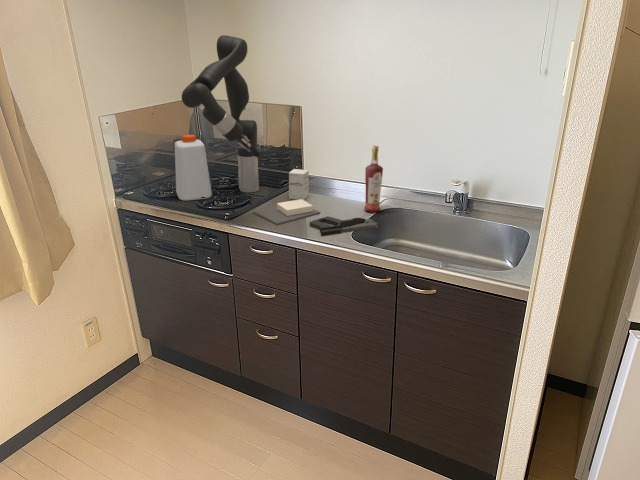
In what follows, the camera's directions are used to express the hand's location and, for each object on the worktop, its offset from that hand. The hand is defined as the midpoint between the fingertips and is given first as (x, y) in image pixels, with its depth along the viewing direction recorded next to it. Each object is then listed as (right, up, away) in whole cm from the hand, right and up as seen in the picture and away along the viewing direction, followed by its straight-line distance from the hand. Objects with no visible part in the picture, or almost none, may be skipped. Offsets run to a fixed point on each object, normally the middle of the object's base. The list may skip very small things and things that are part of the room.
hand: (257, 155), depth 201 cm
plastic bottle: (-34, -13, +34) cm, 50 cm away
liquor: (+47, -21, +17) cm, 54 cm away
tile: (+9, -21, +10) cm, 25 cm away
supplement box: (+15, -14, +33) cm, 39 cm away
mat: (+11, -22, +13) cm, 28 cm away
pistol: (+34, -28, +1) cm, 44 cm away
